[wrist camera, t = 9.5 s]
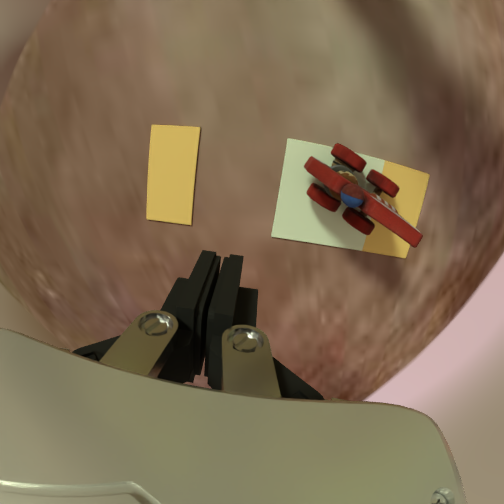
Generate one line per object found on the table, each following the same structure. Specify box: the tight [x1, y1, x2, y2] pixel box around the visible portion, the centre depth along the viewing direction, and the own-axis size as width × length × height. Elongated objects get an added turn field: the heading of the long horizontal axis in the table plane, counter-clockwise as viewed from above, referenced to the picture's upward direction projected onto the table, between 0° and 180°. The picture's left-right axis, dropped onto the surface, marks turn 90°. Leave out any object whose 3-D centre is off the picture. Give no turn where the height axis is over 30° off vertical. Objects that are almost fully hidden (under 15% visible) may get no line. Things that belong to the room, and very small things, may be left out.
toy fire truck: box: [304, 143, 423, 248], centre depth 27 cm, size 7×12×10 cm, turn 60°
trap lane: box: [147, 125, 429, 258], centre depth 32 cm, size 12×35×1 cm, turn 82°
